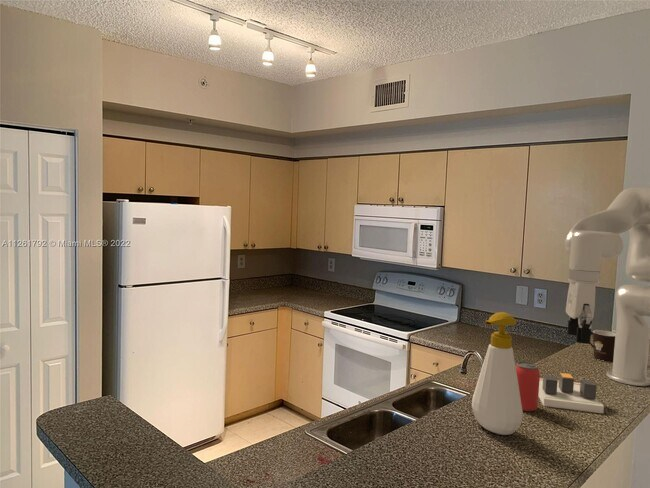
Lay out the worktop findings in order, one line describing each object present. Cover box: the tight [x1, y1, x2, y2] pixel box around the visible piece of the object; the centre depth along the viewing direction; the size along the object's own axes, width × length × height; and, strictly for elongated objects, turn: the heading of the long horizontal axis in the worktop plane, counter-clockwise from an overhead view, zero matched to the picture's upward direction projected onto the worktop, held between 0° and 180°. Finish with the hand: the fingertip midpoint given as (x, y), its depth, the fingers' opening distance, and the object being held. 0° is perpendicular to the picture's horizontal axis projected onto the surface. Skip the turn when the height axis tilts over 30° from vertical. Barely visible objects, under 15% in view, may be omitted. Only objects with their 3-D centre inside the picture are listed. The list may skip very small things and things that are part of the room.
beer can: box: [515, 361, 541, 412], centre depth 131 cm, size 7×7×12 cm
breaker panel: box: [538, 374, 605, 414], centre depth 139 cm, size 18×15×6 cm
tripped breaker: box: [558, 372, 575, 393], centre depth 139 cm, size 4×3×4 cm
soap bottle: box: [471, 311, 524, 436], centre depth 115 cm, size 13×10×29 cm
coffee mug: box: [589, 329, 616, 362], centre depth 181 cm, size 12×9×10 cm
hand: (578, 338), depth 130 cm, fingers open, 9 cm apart
